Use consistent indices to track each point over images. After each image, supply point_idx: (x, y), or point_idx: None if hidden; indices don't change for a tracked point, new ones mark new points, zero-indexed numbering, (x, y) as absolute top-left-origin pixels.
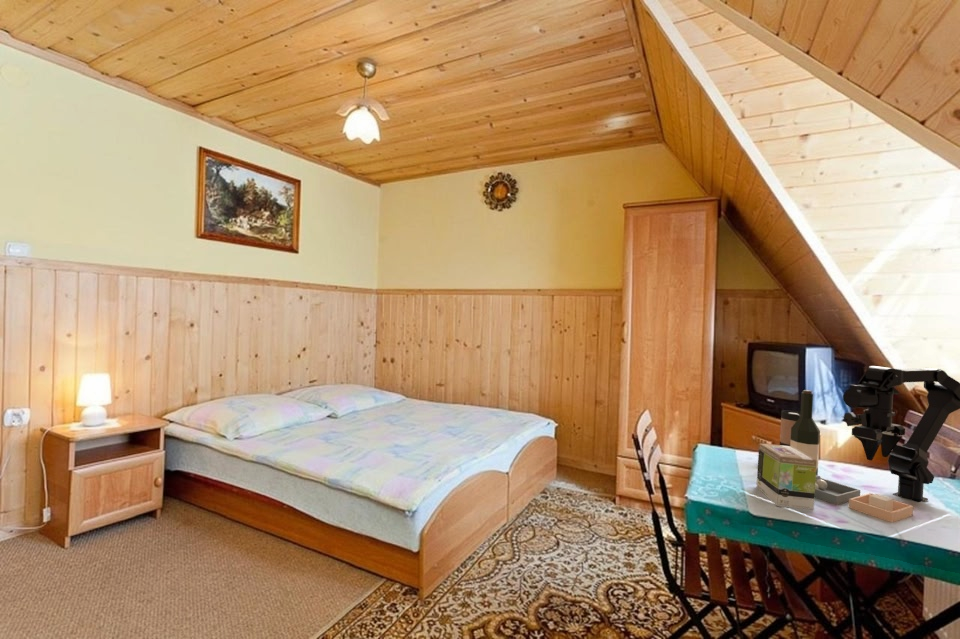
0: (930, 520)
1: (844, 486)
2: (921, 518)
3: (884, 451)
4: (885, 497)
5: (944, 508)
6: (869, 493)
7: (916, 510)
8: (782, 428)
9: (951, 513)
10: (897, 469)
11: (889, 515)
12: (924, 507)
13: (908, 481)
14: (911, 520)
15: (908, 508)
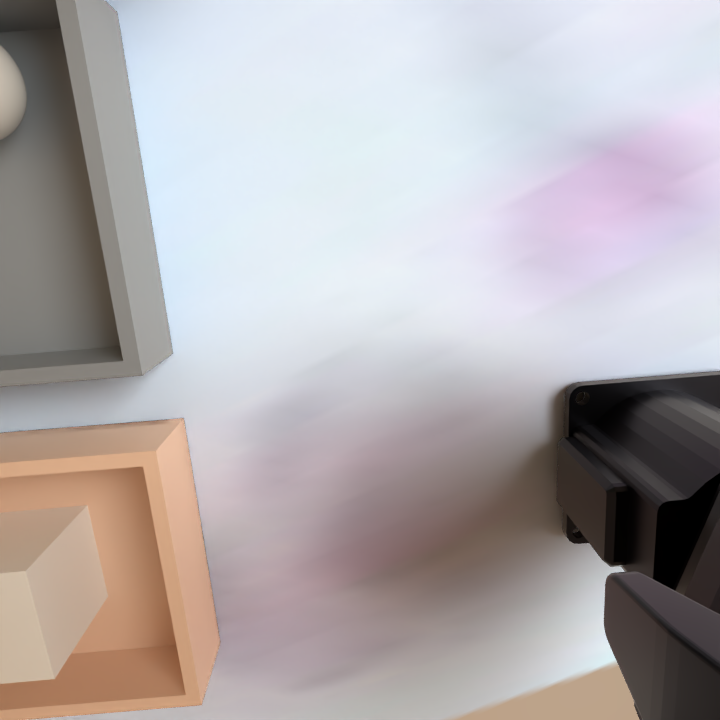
0: (274, 698)
1: (104, 246)
2: (252, 668)
3: (676, 701)
4: (14, 644)
5: None
6: (134, 455)
7: (386, 593)
8: None
9: (564, 679)
10: (697, 546)
11: None
12: (515, 580)
13: (644, 565)
14: None
15: (125, 706)
